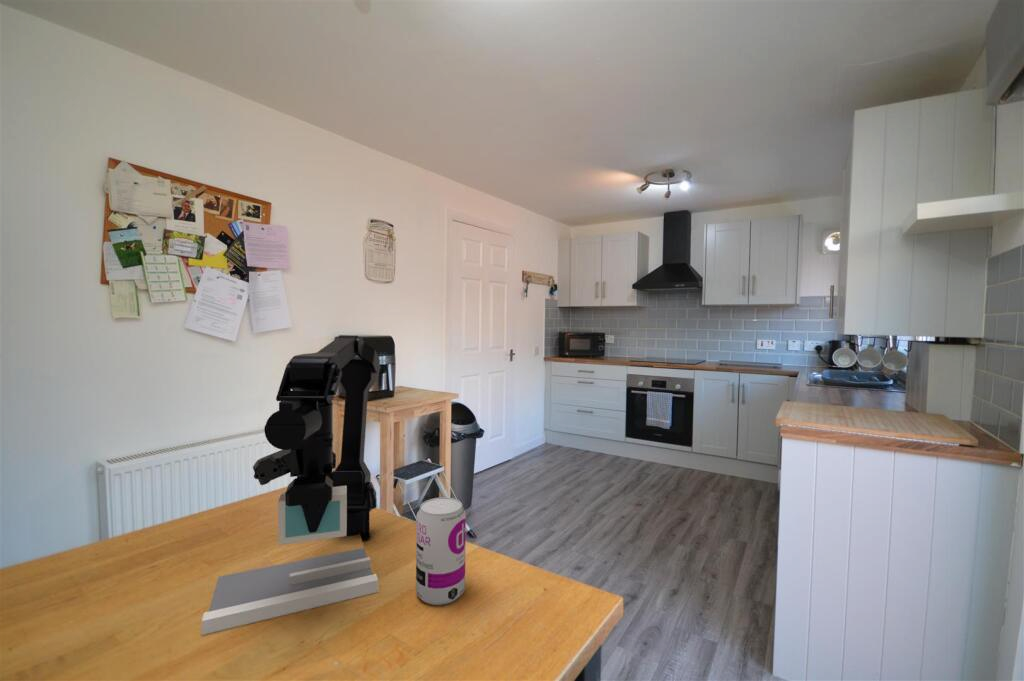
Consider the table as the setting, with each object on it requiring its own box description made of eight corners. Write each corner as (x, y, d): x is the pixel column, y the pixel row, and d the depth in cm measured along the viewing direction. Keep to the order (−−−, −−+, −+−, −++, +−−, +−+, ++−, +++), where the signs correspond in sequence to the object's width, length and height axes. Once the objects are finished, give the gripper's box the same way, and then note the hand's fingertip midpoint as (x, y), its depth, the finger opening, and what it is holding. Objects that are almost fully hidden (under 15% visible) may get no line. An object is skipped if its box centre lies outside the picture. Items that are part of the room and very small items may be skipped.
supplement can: (473, 585, 78) (474, 501, 77) (447, 613, 70) (448, 519, 70) (434, 574, 81) (435, 493, 81) (405, 599, 74) (406, 509, 73)
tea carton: (282, 533, 74) (282, 492, 73) (346, 525, 77) (346, 485, 77) (278, 545, 70) (278, 501, 70) (346, 536, 73) (346, 494, 73)
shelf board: (364, 555, 87) (364, 537, 87) (378, 600, 73) (378, 580, 73) (218, 585, 77) (218, 565, 77) (201, 645, 62) (201, 621, 62)
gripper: (268, 422, 79) (268, 509, 79) (244, 452, 61) (245, 563, 62) (335, 419, 83) (336, 502, 83) (331, 446, 65) (331, 550, 66)
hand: (314, 526), depth 73 cm, fingers closed on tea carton, 4 cm apart
